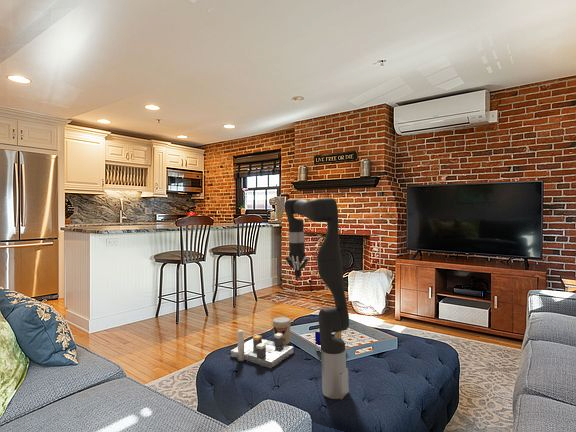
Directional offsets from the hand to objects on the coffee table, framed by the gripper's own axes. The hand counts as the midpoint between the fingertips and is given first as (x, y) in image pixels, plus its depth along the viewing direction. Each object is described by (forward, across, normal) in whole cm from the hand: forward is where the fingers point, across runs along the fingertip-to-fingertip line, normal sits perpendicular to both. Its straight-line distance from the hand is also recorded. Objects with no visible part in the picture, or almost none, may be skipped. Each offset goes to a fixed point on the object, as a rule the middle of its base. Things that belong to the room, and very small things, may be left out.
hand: (298, 277), depth 176 cm
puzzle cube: (+37, -10, -10) cm, 40 cm away
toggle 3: (+34, +10, +4) cm, 35 cm away
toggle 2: (+34, +10, +18) cm, 39 cm away
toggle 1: (+34, +18, +11) cm, 40 cm away
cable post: (+37, +20, +20) cm, 47 cm away
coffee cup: (+37, +15, -6) cm, 41 cm away
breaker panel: (+37, +15, +11) cm, 41 cm away
